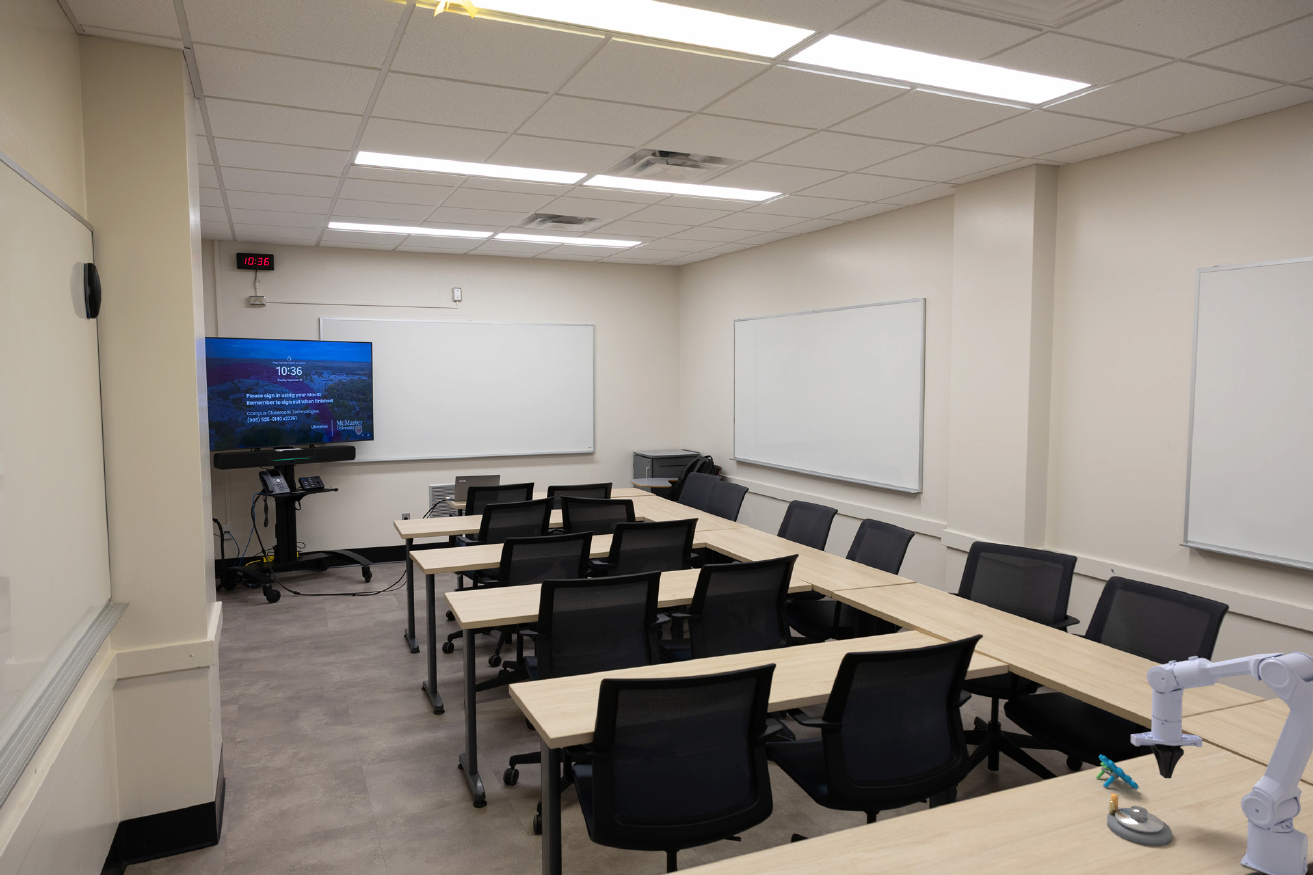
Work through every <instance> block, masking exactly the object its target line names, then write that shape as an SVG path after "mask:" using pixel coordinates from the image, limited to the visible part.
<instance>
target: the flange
mask: <svg viewBox="0 0 1313 875" xmlns="http://www.w3.org/2000/svg"><path fill="white" fill-rule="evenodd" d="M1110 800H1113V801H1115V812H1114V813H1115V818H1116V820H1117V821H1118V822H1119V823H1120V824H1121V825H1123V826H1125V827H1127V828H1129V829H1131V830H1134V831H1138V832H1142V833H1159V832H1161V831H1162V830H1163V822H1164V821H1163V820H1162V819H1161V818H1160V817H1158V816H1157V815H1155V814H1153V813H1151V812H1149V811H1148V810H1147V808H1146V807H1142V806H1140V805H1138V806H1137V805H1133V806H1132V805H1131V806H1130V807H1119V795H1118V794H1117V793H1111V794H1110ZM1107 808H1108V811H1109V805H1107ZM1162 821H1163V822H1162Z"/></svg>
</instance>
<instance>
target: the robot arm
mask: <svg viewBox="0 0 1313 875" xmlns="http://www.w3.org/2000/svg"><path fill="white" fill-rule="evenodd" d="M1247 675H1249V676H1251V677H1253V678H1254V679H1255V681H1257V682H1258V681H1259V682H1260V681H1262V683H1264V684H1265V685H1266V687H1268V689H1269V690H1271V691H1272V692H1273V693H1274V694H1275V695H1276V696H1278V698H1280V700H1282V701H1283V702H1284V704H1286V706H1287V707H1288V708H1289V713H1288V715H1287V718H1286V720H1285V722H1284V725H1283V728H1281V731H1280V735H1279V737H1278V739H1277V742H1276V745H1275V747H1274V749H1273V752H1272V755H1271V757H1270V759H1269V761H1268V763H1267V767H1266V769H1265V771H1264V774H1263V776H1261V778H1260V779H1259V780H1258V781H1257V782H1256V783H1255V784H1254V785H1253V786H1252V789H1251V791H1250V792H1249V793H1246V794H1245V795H1244V796H1243V797H1242V798H1241V801H1240V808H1241V810H1242V813H1243V814H1244V816H1245V817H1246V818H1247V838H1246V839H1247V840H1246V841H1247V843H1246V845H1247V846H1246V853H1244V856H1243V857H1242V858H1241V860H1240V865H1242V866H1244V867H1247V868H1250V869H1253V870H1255V871H1257V872H1260V873H1263V874H1267V875H1306V874H1307V872H1308V870H1309V869H1308V851H1309V848H1308V847H1309V846H1308V845H1309V843H1308V842H1309V840H1308V834H1306V833H1305V832H1302V831H1300V830H1298V829H1296V828H1295V827H1294V818H1296V817H1297V816H1299V814H1300V813H1301V809H1302V807H1301V806H1302V805H1301V802H1300V800H1301V799H1300V798H1301V795H1302V790H1301V788H1299V787H1298V786H1299V783H1300V781H1301V778H1302V775H1303V774H1304V771H1305V769H1306V767H1307V765H1308V762H1309V759H1310V757H1311V754H1312V752H1313V657H1312V656H1311V655H1309V654H1307V653H1306V652H1301V651H1292V652H1289V653H1287V654H1285V652H1273V653H1272V652H1271V653H1259V654H1254V655H1248V656H1242V657H1238V658H1232V659H1227V660H1222V661H1221V660H1220V661H1216V662H1212V661H1210V660H1209V659H1207V658H1204V657H1200V658H1199V657H1198V656H1197V655H1194V656H1189V657H1188V660H1183V661H1182V660H1181V661H1178V662H1177V660H1170V661H1168V663H1164V664H1160V665H1154V666H1153V667H1151V668H1149V669H1148V670H1147V673H1146V680H1147V682H1148V685H1149V686H1150V687H1151V689H1152V690H1151V731H1147V732H1142V733H1141V732H1140V733H1133V734H1130V743H1131V744H1132V745H1134V746H1135V747H1140V746H1149V747H1150V749H1151V751H1152V753H1153V755H1154V758H1155V760H1156V763H1157V766H1158V770H1159V775H1160V776H1162V777H1163V778H1164V779H1172V777H1173V774H1174V771H1175V768H1176V766H1177V763H1179V761H1180V760H1181V758H1182V757H1183V756H1184V754H1185V750H1184V748H1182V746H1186V747H1187V746H1189V747H1190V746H1192V747H1196V748H1203V738H1201V737H1200V736H1198V735H1195V734H1187V733H1185V734H1184V733H1183V732H1182V731H1183V728H1182V727H1183V725H1182V724H1183V696H1184V690H1188V689H1194V688H1202V687H1210V686H1214V685H1215V684H1217V683H1218V680H1219V678H1229V677H1239V676H1247Z"/></svg>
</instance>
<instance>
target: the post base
mask: <svg viewBox="0 0 1313 875" xmlns="http://www.w3.org/2000/svg"><path fill="white" fill-rule="evenodd" d="M1108 806H1109V810H1108V811H1109V812H1108V814H1107V816H1106V819H1107V820H1106V825H1107V828H1108V829H1109V830H1110V831H1111V832H1112V833H1113V834H1115V835H1116V836H1117V837H1120V838H1122V839H1124V840H1126V841H1129V842H1131V843H1135V844H1138V845H1143V846H1147V847H1148V846H1149V847H1160V846H1162V845H1163V846H1166V845H1168V844H1170V843H1171V842H1172V829H1171V827H1170V826H1169V825H1168V824H1167V823H1166V822H1164V821H1163V820H1161V821H1162V822H1163V830H1162V831H1161V832H1159V833H1142V832H1138V831H1134V830H1131V829H1129V828H1127V827H1125V826H1123V825H1121V824H1120V823H1119V822H1118V821H1117V820H1116V818H1115V813H1114V812H1115V801H1113V800H1111V799H1109V805H1108ZM1170 841H1171V842H1170ZM1169 842H1170V843H1169ZM1165 844H1166V845H1165Z"/></svg>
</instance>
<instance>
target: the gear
mask: <svg viewBox="0 0 1313 875" xmlns="http://www.w3.org/2000/svg"><path fill="white" fill-rule="evenodd" d="M1098 758H1099V760H1100V761H1101V762H1100V765H1101V766H1102V767H1100V770H1101V771H1100V772H1099V773H1098V774H1097V775H1096V777H1095V778H1097V779H1098V780H1100V779H1101V778H1102V777H1103V775H1104V774H1106V775H1108V776H1110V777H1109V778H1108V779H1106V781H1105V782H1104V783H1103V784H1102V785H1103V787H1105V788H1106V789H1107V788H1109V786H1111V784H1113V782H1114V781H1117V780H1118V779H1119V778H1120V779H1121V781H1123V782H1124V783H1125V784H1128V785H1129V787H1131V788H1132V789H1135V790H1136V791H1138V789H1139V788H1140V787H1139V785H1138V783H1137V782H1135V780H1133V778H1132V777H1131V776H1130V775H1129V774H1127V773H1125V771H1124V769H1123V768H1122V767H1118V766H1117V764H1116V763H1115V762H1114V761H1112V760H1111V759H1109V758H1108V757H1107V756H1105V755H1103V754H1099V756H1098Z"/></svg>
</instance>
